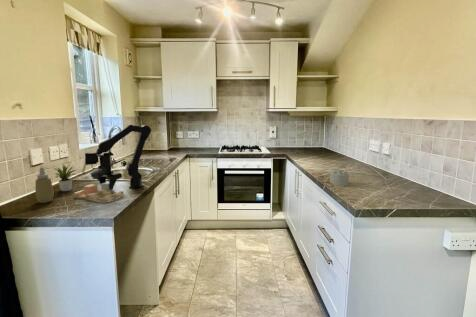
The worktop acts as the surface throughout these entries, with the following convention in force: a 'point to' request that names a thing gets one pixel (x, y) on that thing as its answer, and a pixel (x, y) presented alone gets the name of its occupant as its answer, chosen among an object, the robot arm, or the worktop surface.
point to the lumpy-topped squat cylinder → (339, 177)
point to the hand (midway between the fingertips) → (107, 189)
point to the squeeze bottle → (44, 187)
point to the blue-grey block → (105, 186)
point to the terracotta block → (90, 189)
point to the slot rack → (99, 195)
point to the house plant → (65, 178)
